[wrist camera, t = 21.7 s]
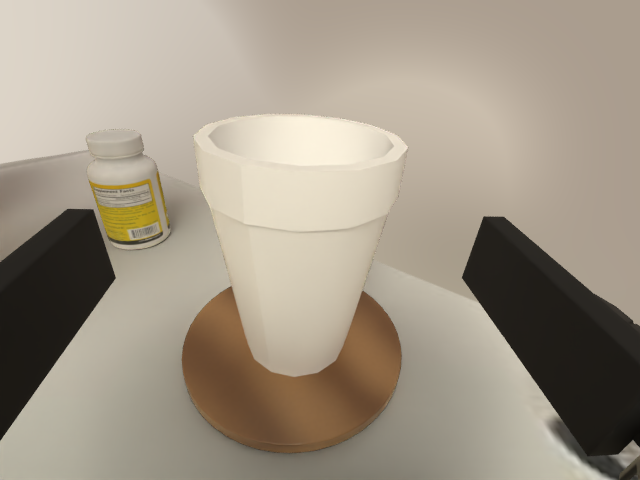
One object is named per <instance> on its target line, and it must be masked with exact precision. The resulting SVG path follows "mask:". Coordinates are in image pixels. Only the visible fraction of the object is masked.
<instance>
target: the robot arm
mask: <svg viewBox="0 0 640 480" xmlns="http://www.w3.org/2000/svg"><path fill="white" fill-rule="evenodd" d="M115 278H116V277H115V274H114V271H113V268H112V265H111V262H110V259H109V256H108V253H107V250H106V247H105V244H104V241H103V238H102V235H101V232H100V229H99V226H98V223H97V219H96V216H95V213H94V210H93V209H67V210H66V211H64V212H63V213H62V214H61V215H59V216H58V217H57V218H56V219H54V220H53V221H52V222H50V223H49V224H48V225H47V226H45V227H44V228H43V229H42V230H40V231H39V232H38V233H37V234H35V235H34V236H33V237H32V238H30V239H29V240H28V241H26V242H25V243H24V244H23V245H21V246H20V247H19V248H18V249H16V250H15V251H14V252H13V253H11V254H10V255H9V256H8V257H6V258H5V259H4V260H2V261H1V262H0V440H1V439H2V437H3V436H4V435H5V433H6V432H7V430H8V429H9V428H10V426H11V425H12V423H13V422H14V421H15V419H16V418H17V416H18V415H19V414H20V412H21V411H22V409H23V408H24V407H25V405H26V404H27V402H28V401H29V399H30V398H31V397H32V395H33V394H34V392H35V391H36V390H37V388H38V387H39V385H40V384H41V383H42V381H43V380H44V378H45V377H46V376H47V374H48V373H49V371H50V370H51V368H52V367H53V366H54V364H55V363H56V361H57V360H58V359H59V357H60V356H61V354H62V353H63V352H64V350H65V349H66V347H67V346H68V345H69V343H70V342H71V340H72V339H73V337H74V336H75V335H76V333H77V332H78V330H79V329H80V328H81V326H82V325H83V323H84V322H85V321H86V319H87V318H88V316H89V315H90V314H91V312H92V311H93V309H94V308H95V307H96V305H97V304H98V302H99V301H100V299H101V298H102V297H103V295H104V294H105V292H106V291H107V290H108V288H109V287H110V285H111V284H112V283H113V281H114V280H115ZM462 279H463V280H464V281H465V283H466V284H467V286H468V287H469V288H470V290H471V291H472V293H473V294H474V296H475V297H476V298H477V300H478V301H479V303H480V304H481V305H482V307H483V308H484V310H485V311H486V313H487V314H488V315H489V317H490V318H491V320H492V321H493V322H494V324H495V325H496V327H497V328H498V330H499V331H500V332H501V334H502V335H503V337H504V338H505V339H506V341H507V342H508V344H509V345H510V347H511V348H512V349H513V351H514V352H515V354H516V355H517V356H518V358H519V359H520V361H521V362H522V364H523V365H524V366H525V368H526V369H527V371H528V372H529V374H530V375H531V376H532V378H533V379H534V381H535V382H536V383H537V385H538V386H539V388H540V389H541V391H542V392H543V393H544V395H545V396H546V398H547V399H548V400H549V402H550V403H551V405H552V406H553V408H554V409H555V410H556V412H557V413H558V415H559V416H560V417H561V419H562V420H563V422H564V423H565V425H566V426H567V427H568V429H569V430H570V432H571V433H572V434H573V436H574V437H575V439H576V440H577V442H578V443H579V444H580V446H581V447H582V449H583V450H584V452H585V453H586V454H587V456H599V455H616V454H619V453H620V452H621V451H622V450H623V449H624V448H625V447H626V446H627V445H628V444H629V443H630V442H631V441H632V440H634V441H635V443H636V444H637V445H638V446H639V447H640V326H639V325H637V324H634V323H633V320H631V319H630V318H629V317H628V316H627V315H625V314H624V313H623V312H622V311H621V310H619V309H618V308H617V307H616V306H614V305H612V304H611V303H609V302H607V301H605V300H604V299H602V298H600V297H599V296H597V295H595V294H593V293H592V292H591V291H590V290H589V289H588V288H586V287H585V286H584V285H583V284H582V283H581V282H579V281H578V280H577V279H576V278H575V277H574V276H572V275H571V274H570V273H569V272H568V271H567V270H565V269H564V268H563V267H562V266H561V265H560V264H558V263H557V262H556V261H555V260H554V259H553V258H551V257H550V256H549V255H548V254H547V253H546V252H544V251H543V250H542V249H541V248H540V247H539V246H537V245H536V244H535V243H534V242H533V241H532V240H530V239H529V238H528V237H527V236H526V235H525V234H523V233H522V232H521V231H520V230H519V229H518V228H516V227H515V226H514V225H513V224H512V223H511V222H509V221H508V220H507V219H506V218H505V217H483V220H482V223H481V226H480V228H479V231H478V234H477V237H476V240H475V243H474V245H473V248H472V251H471V254H470V257H469V259H468V262H467V265H466V268H465V270H464V273H463V276H462ZM634 475H638V480H640V456H639V457H638V458H636V459H635V460H634V461H633V462H632V463H631V464H630V465H629V466H628V467H627V468H626V469H624V470H623V471H622V472H621V473H620V477H619V480H630V479H631V478H632V477H633V476H634Z"/></svg>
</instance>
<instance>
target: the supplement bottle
mask: <svg viewBox="0 0 640 480" xmlns="http://www.w3.org/2000/svg"><path fill="white" fill-rule="evenodd" d="M86 141H87V145H88V149H89V152H90V154H91V156H93V157H95V160H94V161H93V162H91V163H90V164H89V166H88V168H87V176H88V179H89V183H90V186H91V188H92V191H93V194H94V197H95V200H96V203H97V206H98V209H99V212H100V215H101V218H102V221H103V224H104V227H105V230H106V233H107V236H108V238H109V241H110V242H111V244H112V245H114V246H115V247H117V248H120V249H126V250H137V249H144V248H148V247H151V246H154V245H156V244H158V243H160V242H162V241H163V240H165V239H166V238H167V237H168V235H169V233H170V224H169V219H168V214H167V209H166V205H165V200H164V196H163V191H162V187H161V182H160V177H159V172H158V169H157V165H156V163H155V161H154V160H153V159H151V158H150V157H148V156H146V155H143V154H142V152H143V151H144V148H143V147H144V146H143V142H142V138H141V134H140V133H139V132H138V131H135V130H129V129H111V130H103V131H98V132H94V133H91V134H89V135H87V136H86Z"/></svg>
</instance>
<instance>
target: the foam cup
mask: <svg viewBox="0 0 640 480" xmlns="http://www.w3.org/2000/svg"><path fill="white" fill-rule="evenodd" d="M193 140H194V148H195V155H196V163H197V170H198V177H199V184H200V189H201V191H202V193H203V195H204V197H205V199H206V201H207V203H208V205H209V207H210V209H211V213H212V217H213V220H214V224H215V228H216V231H217V235H218V238H219V242H220V246H221V249H222V253H223V257H224V260H225V264H226V268H227V271H228V275H229V278H230V282H231V286H232V289H233V293H234V297H235V300H236V304H237V307H238V311H239V315H240V318H241V322H242V326H243V329H244V333H245V336H246V339H247V343H248V345H249V348H250V350H251V352H252V355H253V357H254V359H255V360H256V361H257V362H259V363H260V364H261V365H263V366H264V367H265V368H267V369H268V370H269V371H270V372H274V373H278V374H283V375H287V376H292V377H297V376H303V375H308V374H314V373H318V372H320V371H321V370H323V369H324V368H326V367H327V366H329V365H330V364H332V363H333V362H334V361H336V359H337V357H338V355H339V353H340V351H341V349H342V347H343V345H344V341H345V339H346V337H347V334H348V331H349V328H350V325H351V322H352V320H353V317H354V314H355V311H356V308H357V305H358V302H359V299H360V296H361V293H362V290H363V287H364V284H365V281H366V278H367V275H368V272H369V269H370V266H371V263H372V260H373V257H374V254H375V251H376V248H377V246H378V243H379V240H380V237H381V234H382V231H383V228H384V225H385V222H386V219H387V216H388V213H389V211H390V209H391V208H392V206H393V205H394V203H395V201H396V200H397V198H398V196H399V192H400V186H401V181H402V176H403V171H404V166H405V161H406V156H407V151H408V147H407V146H406V144H405V143H404V142H403V141H402V140H401V139H400V137H399V136H398V135H396V134H393V133H391V132H388V131H386V130H384V129H381V128H379V127H376V126H374V125H369V124H365V123H361V122H356V121H351V120H347V119H341V118H334V117H325V116H315V115H305V114H262V115H252V116H241V117H233V118H229V119H225V120H221V121H218V122H214V123H210V124H207V125H205V126H204V127H203V128H202V129H201V130H199V131H198V132H197V133H196V134H195V135H194V136H193Z"/></svg>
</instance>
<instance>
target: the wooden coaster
mask: <svg viewBox="0 0 640 480" xmlns="http://www.w3.org/2000/svg"><path fill="white" fill-rule="evenodd" d="M401 356H402V355H401V346H400V341H399V338H398V334H397V331H396V329H395V327H394V325H393V323H392V321H391V319H390V318H389V316H388V314H387V313H386V312H385V311H384V309H383V308H382V307H381V306H380V305H379V304H378V303H377V302H376V301H375V300H374V299H373V298H372V297H370V296H369V295H368V294H366V293H365V292H364V291H362V293H361V296H360V299H359V302H358V305H357V308H356V311H355V314H354V317H353V320H352V322H351V325H350V328H349V331H348V334H347V337H346V339H345V341H344V345H343V347H342V349H341V351H340V353H339V355H338V357H337V359H336V361H334V362H333V363H332V364H330V365H329V366H327V367H326V368H324V369H323V370H321V371H320V372H318V373H314V374H308V375H303V376H297V377H292V376H287V375H283V374H278V373H274V372H270V371H269V370H268V369H267V368H265V367H264V366H263V365H261V364H260V363H259V362H257V361H256V360H255V359H254V357H253V355H252V352H251V350H250V348H249V345H248V343H247V339H246V336H245V333H244V329H243V326H242V322H241V318H240V315H239V311H238V307H237V304H236V300H235V297H234V293H233V289H232V286H231V287H229V288H227V289H226V290H224V291H223V292H221V293H220V294H218V295H217V296H216V297H214V298H213V299H212V300H211V301H210V302H209V303H208V304H207V305H206V306H205V307H204V308H203V309H202V310H201V311H200V312H199V314H198V315H197V316H196V318H195V319H194V321H193V323H192V324H191V326H190V328H189V331H188V333H187V335H186V338H185V342H184V346H183V352H182V368H183V375H184V379H185V383H186V386H187V390H188V393H189V395H190V397H191V399H192V401H193V404H194V405H195V407H196V408H197V409H198V411H199V412H200V414H201V415H202V416H203V417H204V418H205V419H206V420H207V421H208V422H209V423H210V424H211V425H212V426H213V427H214V428H215V429H217V430H218V431H220V432H221V433H223V434H224V435H225V436H227V437H229V438H231V439H233V440H235V441H237V442H239V443H241V444H243V445H247V446H250V447H253V448H256V449H259V450H265V451H271V452H277V453H300V452H308V451H315V450H319V449H323V448H327V447H331V446H333V445H336V444H338V443H340V442H343V441H345V440H347V439H349V438H351V437H352V436H354V435H356V434H357V433H359V432H361V431H362V430H363V429H365V428H366V427H367V426H368V425H370V424H371V423H372V422H373V421H374V420H375V419H376V418H377V417H378V416H379V415H380V413H381V412H382V411H383V410H384V408H385V407H386V405H387V404H388V402H389V401H390V399H391V397H392V395H393V392H394V390H395V387H396V385H397V381H398V377H399V373H400V369H401Z"/></svg>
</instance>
